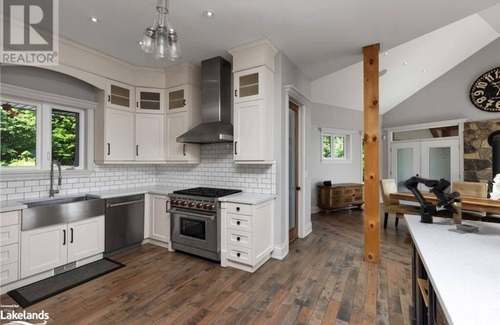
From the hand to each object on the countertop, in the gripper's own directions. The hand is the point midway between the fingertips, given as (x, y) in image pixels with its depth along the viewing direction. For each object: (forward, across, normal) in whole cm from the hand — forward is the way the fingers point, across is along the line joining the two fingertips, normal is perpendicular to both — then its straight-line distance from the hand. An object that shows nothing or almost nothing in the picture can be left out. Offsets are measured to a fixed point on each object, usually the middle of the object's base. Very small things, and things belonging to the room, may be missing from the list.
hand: (459, 213), depth 147 cm
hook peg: (+4, 0, +6) cm, 7 cm away
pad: (+8, 0, +9) cm, 12 cm away
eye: (+8, +8, +9) cm, 15 cm away
